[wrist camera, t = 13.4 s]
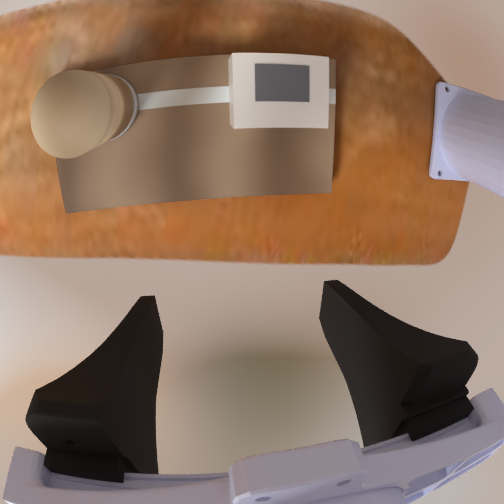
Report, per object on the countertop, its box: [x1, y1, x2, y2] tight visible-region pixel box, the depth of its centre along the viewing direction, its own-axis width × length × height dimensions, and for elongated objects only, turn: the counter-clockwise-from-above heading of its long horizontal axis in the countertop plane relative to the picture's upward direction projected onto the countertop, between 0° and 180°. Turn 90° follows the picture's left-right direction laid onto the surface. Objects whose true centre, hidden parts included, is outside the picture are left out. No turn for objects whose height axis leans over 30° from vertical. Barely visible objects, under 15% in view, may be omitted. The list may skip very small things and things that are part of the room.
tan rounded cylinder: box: [31, 69, 139, 159], centre depth 13 cm, size 4×4×6 cm
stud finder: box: [228, 53, 329, 129], centre depth 16 cm, size 5×4×3 cm
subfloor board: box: [56, 55, 336, 213], centre depth 18 cm, size 18×9×1 cm, turn 91°
